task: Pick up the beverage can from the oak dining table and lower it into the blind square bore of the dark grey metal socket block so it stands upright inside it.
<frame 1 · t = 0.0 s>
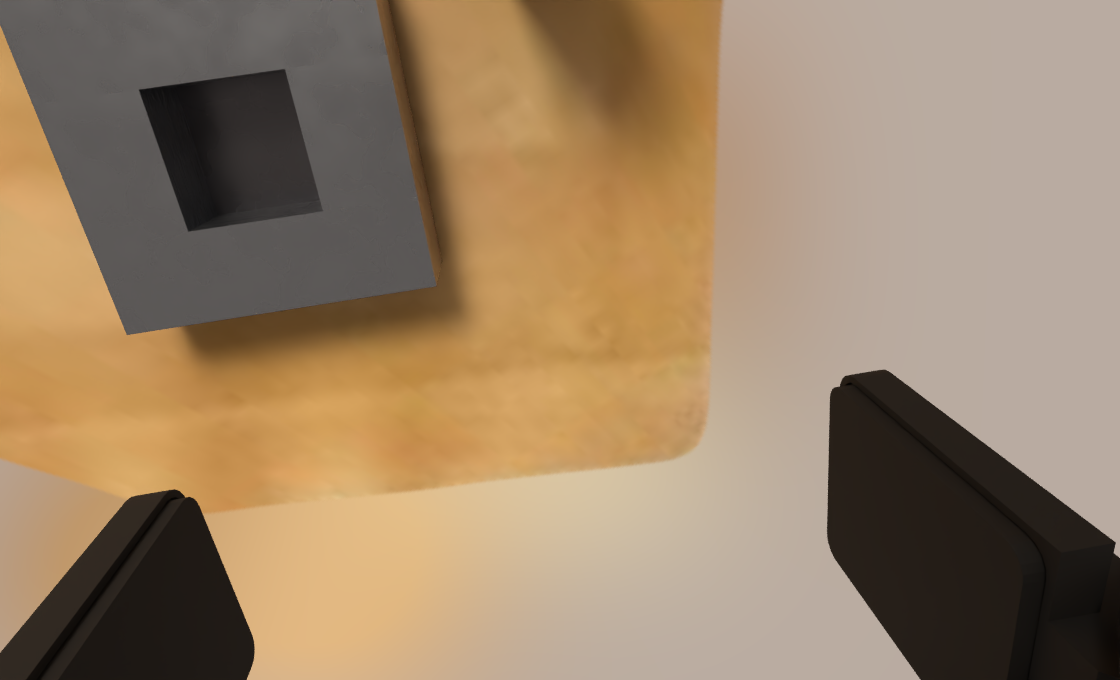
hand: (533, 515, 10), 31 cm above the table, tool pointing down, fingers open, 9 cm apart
socket block: (266, 142, 37), on the table
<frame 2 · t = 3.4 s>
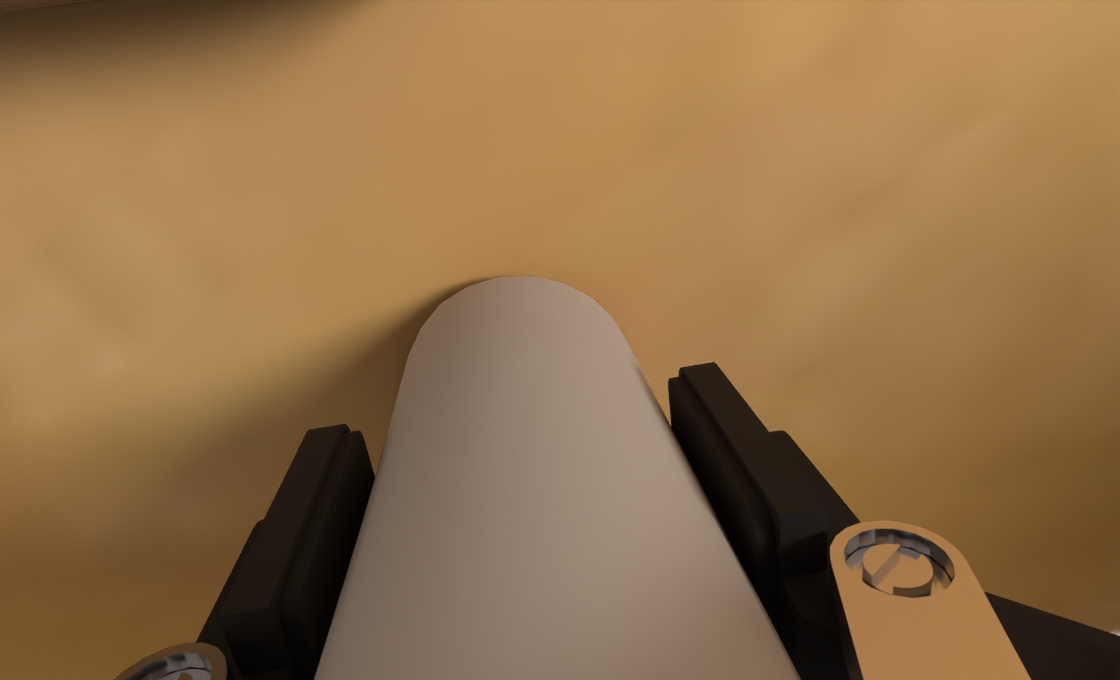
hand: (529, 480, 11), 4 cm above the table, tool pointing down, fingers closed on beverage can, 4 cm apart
beverage can: (517, 371, 15), on the table, touching gripper
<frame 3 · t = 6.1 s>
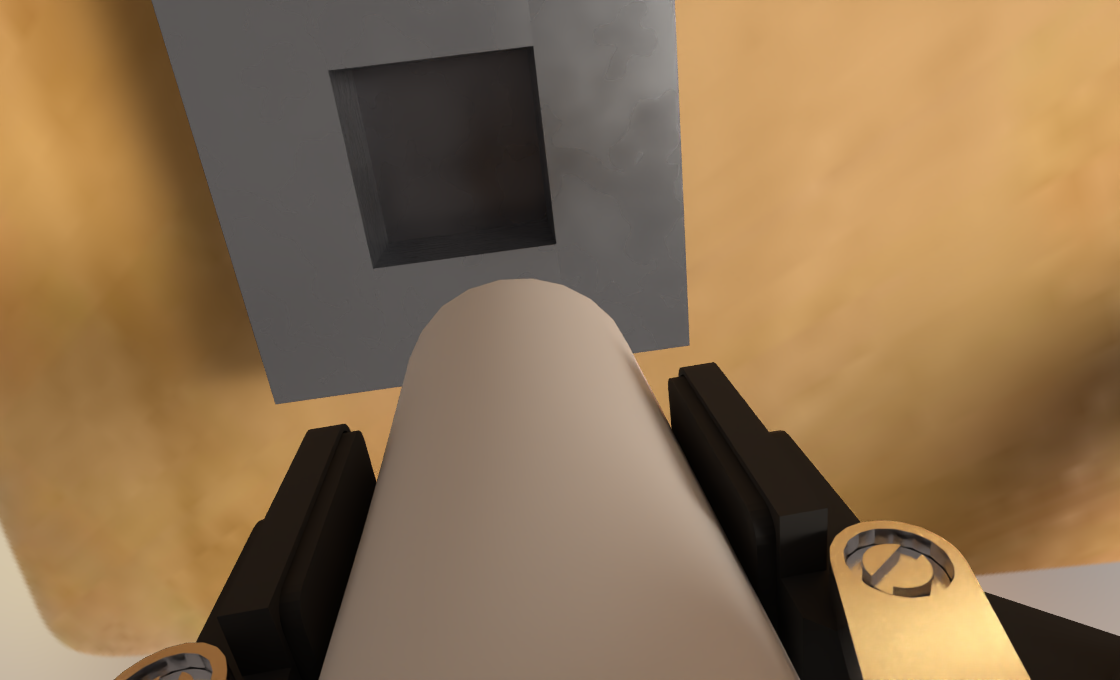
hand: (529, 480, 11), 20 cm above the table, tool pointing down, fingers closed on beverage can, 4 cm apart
beverage can: (518, 373, 15), point 15 cm above the table, touching gripper
socket block: (456, 146, 28), on the table
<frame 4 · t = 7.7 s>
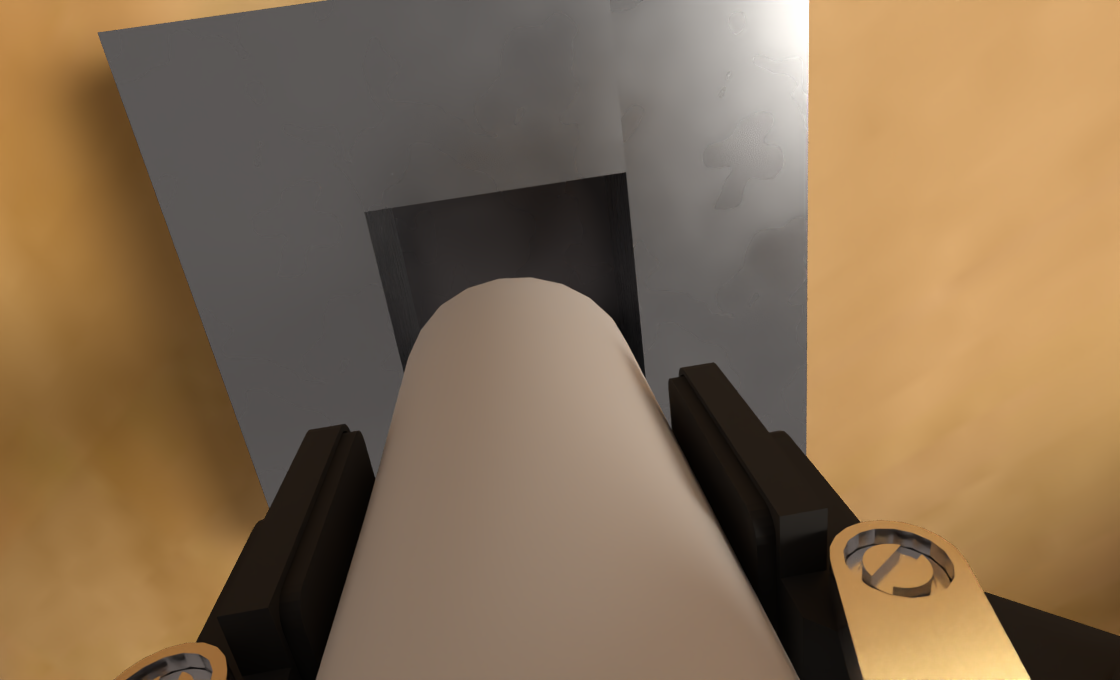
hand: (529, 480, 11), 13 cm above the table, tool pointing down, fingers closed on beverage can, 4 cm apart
beverage can: (517, 373, 15), point 9 cm above the table, touching gripper
socket block: (511, 264, 23), on the table
when the fingers open (7 cm above the table, at t = 9.1 s): beverage can drops 2 cm, resting on socket block.
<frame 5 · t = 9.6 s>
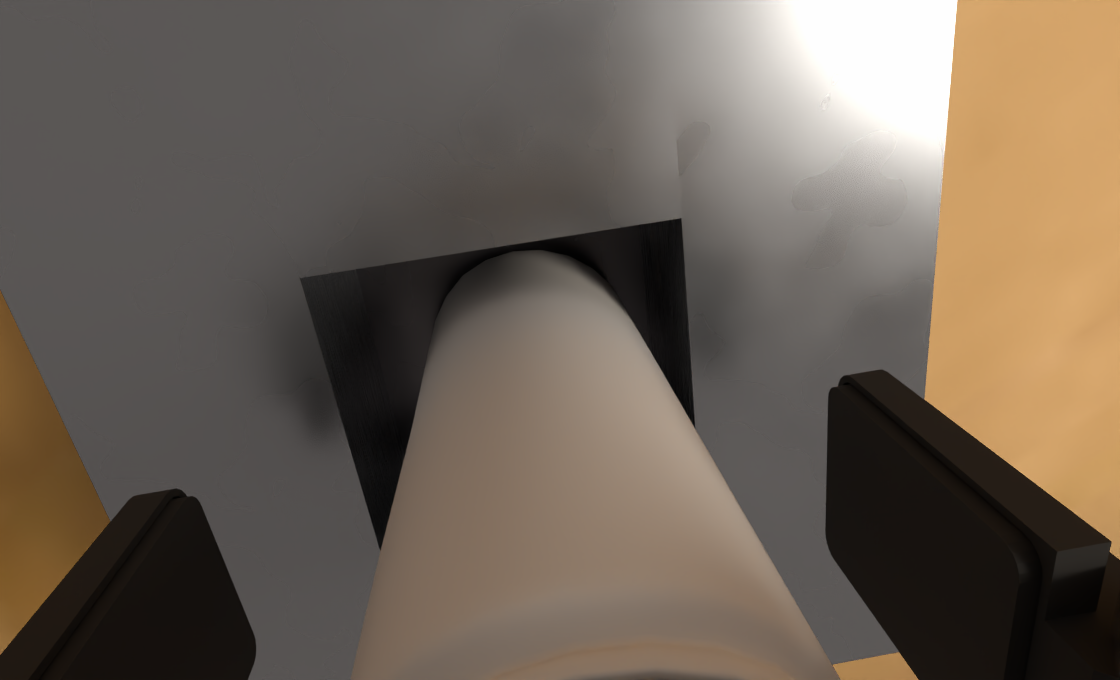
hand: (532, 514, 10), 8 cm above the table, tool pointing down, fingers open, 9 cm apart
beverage can: (529, 337, 17), point 1 cm above the table, touching socket block
socket block: (512, 323, 17), on the table
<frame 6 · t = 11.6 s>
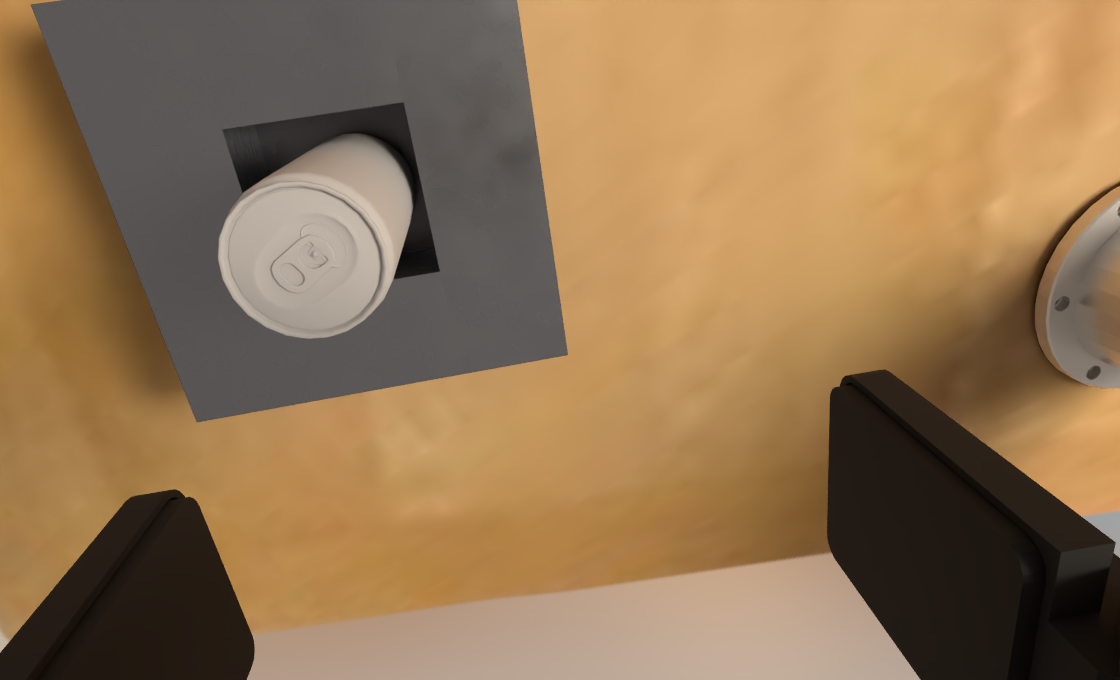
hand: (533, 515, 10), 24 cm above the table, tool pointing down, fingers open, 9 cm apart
beverage can: (361, 187, 30), point 1 cm above the table, touching socket block
socket block: (355, 183, 31), on the table
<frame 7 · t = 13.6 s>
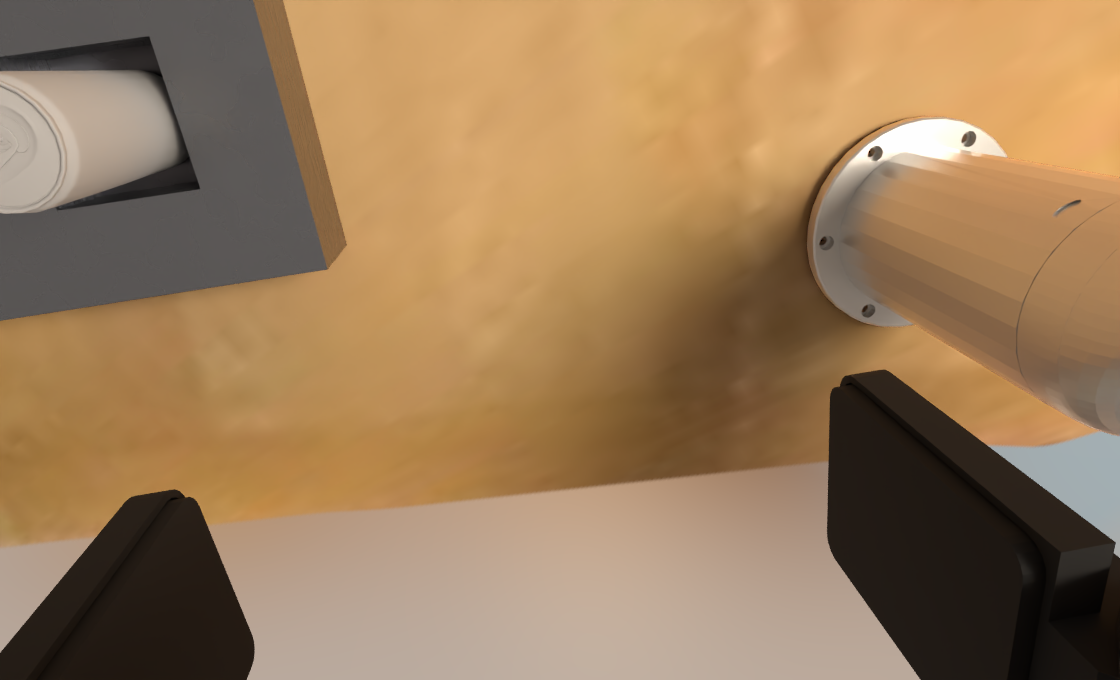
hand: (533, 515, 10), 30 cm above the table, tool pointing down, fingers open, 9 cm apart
beverage can: (152, 121, 34), point 1 cm above the table, touching socket block
socket block: (152, 118, 35), on the table
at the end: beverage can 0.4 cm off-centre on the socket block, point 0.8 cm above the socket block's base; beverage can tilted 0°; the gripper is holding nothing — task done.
